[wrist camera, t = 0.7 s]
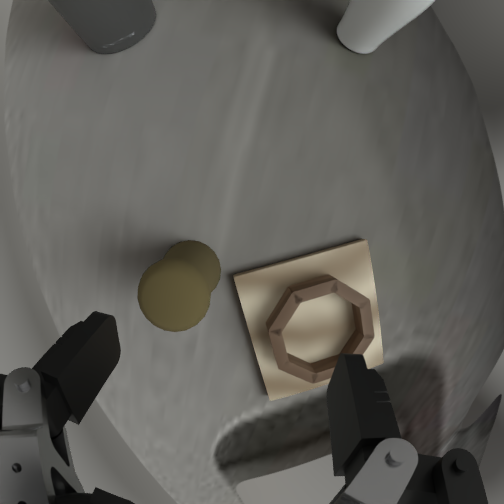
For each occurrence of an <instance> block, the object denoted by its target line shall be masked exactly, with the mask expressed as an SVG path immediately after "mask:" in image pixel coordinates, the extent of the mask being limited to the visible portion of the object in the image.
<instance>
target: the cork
mask: <svg viewBox="0 0 504 504" xmlns="http://www.w3.org/2000/svg"><path fill="white" fill-rule="evenodd" d="M220 274H221V267H220V262H219V259H218V258H217V256H216V254H215V252H214V251H213V250H212V249H211V248H210V247H208V246H207V245H205V244H203V243H201V242H199V241H191V240H188V241H183V242H179V243H178V244H176V245H174V246H172V247H171V249H170V250H169V251H168V252H167V253H166V255H165V257H164V258H163V259H162V260H160V261H158V262H157V263H155V264H153V265H151V266H150V267H149V268H148V269H147V270H146V271H145V273H144V274H143V275H142V278H141V280H140V283H139V286H138V302H139V305H140V309H141V311H142V312H143V314H144V315H145V317H146V318H147V319H148V320H149V321H150V322H151V323H152V324H153V325H154V326H156V327H159V328H161V329H163V330H166V331H172V332H178V331H185V330H187V329H189V328H191V327H193V326H195V325H197V324H198V323H199V322H200V321H201V320H202V319H203V318H204V317H205V315H206V312H207V310H208V308H209V305H210V296H211V292H212V291H213V290H214V289H215V288H216V286H217V284H218V282H219V280H220Z"/></svg>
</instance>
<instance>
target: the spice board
mask: <svg viewBox="0 0 504 504" xmlns="http://www.w3.org/2000/svg"><path fill="white" fill-rule="evenodd" d="M233 276H234V281H235V284H236V288H237V291H238V295H239V298H240V302H241V305H242V309H243V312H244V316H245V319H246V322H247V326H248V329H249V333H250V336H251V340H252V343H253V346H254V350H255V353H256V356H257V360H258V363H259V366H260V370H261V373H262V376H263V380H264V383H265V386H266V389H267V393H268V396H269V399H270V401H272V400H276V399H280V398H283V397H287V396H290V395H294V394H297V393H301V392H304V391H307V390H311V389H314V388H317V387H320V386H323V385H326V384H329V382H330V379H331V377H332V374H333V371H334V369H335V366H336V363H337V361H338V358H339V356H340V354H341V353H349V354H362V355H363V356H364V359H365V362H366V365H367V368H368V369H370V368H372V367H375V366H377V365H380V364H382V363H383V350H382V339H381V329H380V320H379V312H378V304H377V297H376V290H375V283H374V277H373V270H372V264H371V259H370V253H369V248H368V242H367V240H365V239H360V240H356V241H353V242H349V243H346V244H342V245H339V246H335V247H332V248H328V249H325V250H321V251H318V252H314V253H311V254H307V255H303V256H300V257H296V258H293V259H289V260H285V261H282V262H278V263H275V264H271V265H267V266H264V267H260V268H256V269H253V270H249V271H245V272H241V273H238V274H234V275H233Z"/></svg>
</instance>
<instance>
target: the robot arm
mask: <svg viewBox="0 0 504 504" xmlns="http://www.w3.org/2000/svg"><path fill="white" fill-rule="evenodd" d="M48 1H49V2H50V3H51V4H52V5H53V6H54V8H55V9H56V10H57V11H58V12H59V13H60V14H61V16H62V17H63V18H64V19H65V20H66V21H67V22H68V24H69V25H70V26H71V27H72V28H73V29H74V30H75V32H76V33H77V34H78V35H79V36H80V37H81V39H82V40H83V41H84V42H85V43H86V44H87V45H88V46H89V48H90V49H91V50H93V51H95V52H97V53H101V54H109V53H115V52H119V51H122V50H124V49H126V48H129V47H131V46H132V45H134V44H135V43H137V42H138V41H140V40H141V39H142V38H143V37H144V36H145V35H146V34H147V33H148V32H149V31H150V29H151V28H152V26H153V24H154V22H155V19H156V11H155V7H154V5H153V2H152V0H48ZM120 352H121V349H120V343H119V337H118V332H117V326H116V320H115V318H114V316H112V315H108V314H104V313H100V312H97V311H95V312H93V313H92V314H91V315H90V316H89V317H88V318H87V319H86V320H85V321H84V322H83V321H80V322H78V323H77V324H75V325H73V326H71V327H70V328H69V329H68V330H67V331H66V332H65V333H64V334H63V335H62V337H60V338H59V339H58V340H57V341H56V344H54V345H53V346H52V347H51V348H50V349H49V350H48V351H47V352H46V353H45V354H44V355H43V357H42V358H41V359H40V360H39V361H38V362H37V363H36V365H35V366H34V367H33V368H32V369H31V368H27V367H24V368H23V367H22V368H18V369H15V370H13V371H12V372H11V373H9V375H3V374H0V504H134V503H133V502H131V501H129V500H126V499H123V498H121V497H118V496H116V495H113V494H111V493H108V492H106V491H103V490H101V489H99V488H95V490H94V492H93V494H90V493H85V492H84V489H83V487H82V485H81V483H80V481H79V479H78V477H77V475H76V472H75V469H74V465H73V461H72V456H71V452H70V448H69V442H68V437H67V431H66V428H65V426H64V425H65V424H66V422H67V421H68V420H69V421H72V422H74V423H76V424H78V425H79V424H80V422H81V420H82V419H83V417H84V415H85V414H86V412H87V411H88V409H89V407H90V406H91V404H92V403H93V401H94V399H95V398H96V396H97V395H98V393H99V391H100V390H101V388H102V387H103V385H104V384H105V382H106V380H107V379H108V377H109V376H110V374H111V373H112V371H113V370H114V368H115V366H116V365H117V363H118V361H119V358H120ZM327 407H328V416H329V426H330V436H331V446H332V457H333V470H334V476H345V483H346V484H345V485H344V486H343V487H342V489H341V490H340V491H339V492H338V494H337V495H336V496H335V497H334V499H333V500H332V501H331V502H330V503H329V504H488V501H487V497H486V493H485V489H484V486H483V482H482V479H481V475H480V472H479V468H478V465H477V462H476V460H475V458H474V456H473V455H472V454H471V453H470V452H468V451H467V450H464V449H460V448H456V449H452V450H450V451H448V452H447V453H446V454H445V455H444V456H443V457H442V458H441V457H434V456H427V455H422V454H418V453H417V451H416V449H415V448H414V447H413V446H412V445H411V444H410V443H409V442H407V441H406V440H403V439H402V438H401V435H400V432H399V428H398V425H397V421H396V418H395V415H394V411H393V408H392V405H391V403H390V398H389V395H388V393H387V389H386V386H385V383H384V380H383V379H382V377H381V376H380V375H379V374H378V373H377V371H376V370H375V369H368V368H367V365H366V362H365V359H364V356H363V355H362V354H349V353H341V354H340V356H339V358H338V361H337V363H336V366H335V369H334V371H333V374H332V377H331V379H330V382H329V385H328V389H327Z"/></svg>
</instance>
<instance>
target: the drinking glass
mask: <svg viewBox="0 0 504 504" xmlns="http://www.w3.org/2000/svg"><path fill="white" fill-rule="evenodd" d="M434 1H435V0H350V2H349V4H348V6H347V8H346V11H345V13H344V15H343V17H342V19H341V21H340V22H339V24H338V26H337V35H338V38H339V40H340V41H341V42H342V44H343V45H344V46H346V47H347V48H348V49H350V50H352V51H354V52H357V53H361V54H367V53H371V52H373V51H374V50H375V49H376V48H377V47H378V46H379V45H380V44H381V43H383V42H384V41H385V40H386V39H388V38H389V37H390V36H392V35H393V34H394V33H396V32H397V31H398V30H399V29H401V28H402V27H404V26H405V25H406V24H408V23H409V22H410V21H412V20H413V19H414V18H416V17H417V16H418V15H420V14H421V13H422V12H423V11H425V10H426V9H427V8H428V7H429V6H430V5H431V4H432V3H433V2H434Z"/></svg>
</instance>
